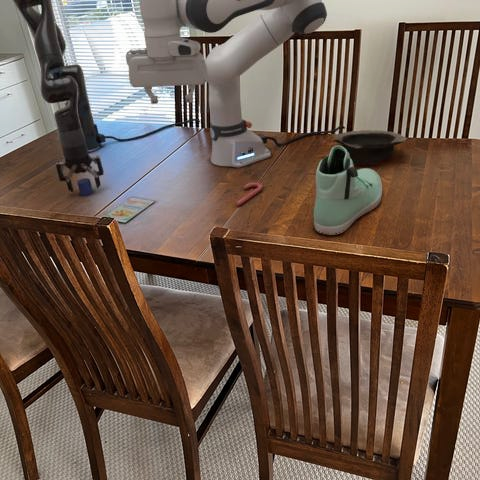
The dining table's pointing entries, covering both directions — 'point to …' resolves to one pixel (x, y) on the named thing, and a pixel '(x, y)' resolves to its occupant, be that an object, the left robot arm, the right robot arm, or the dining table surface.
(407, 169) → the dining table surface
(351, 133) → the stone bowl
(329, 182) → the sneaker
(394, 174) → the dining table surface
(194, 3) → the right robot arm
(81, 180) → the can
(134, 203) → the baking ingredient package
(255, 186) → the candy cane
